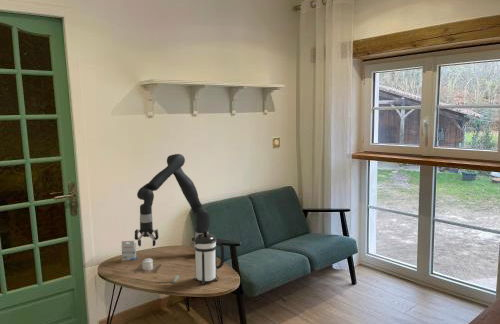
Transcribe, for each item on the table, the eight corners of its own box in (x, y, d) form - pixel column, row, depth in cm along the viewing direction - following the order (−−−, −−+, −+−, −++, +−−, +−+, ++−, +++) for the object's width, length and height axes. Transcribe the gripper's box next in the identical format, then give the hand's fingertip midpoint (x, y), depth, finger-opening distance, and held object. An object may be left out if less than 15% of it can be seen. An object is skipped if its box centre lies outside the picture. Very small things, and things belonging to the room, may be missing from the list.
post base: (161, 266, 241) (161, 258, 241) (156, 275, 227) (156, 266, 227) (140, 266, 241) (139, 258, 240) (133, 275, 227) (133, 266, 227)
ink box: (136, 259, 254) (135, 238, 252) (135, 262, 249) (134, 240, 247) (123, 259, 253) (122, 238, 252) (122, 262, 248) (121, 241, 247)
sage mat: (178, 275, 226) (178, 275, 226) (175, 283, 216) (175, 282, 216) (159, 276, 226) (159, 275, 226) (155, 283, 216) (155, 282, 216)
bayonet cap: (153, 266, 237) (153, 258, 236) (151, 270, 231) (151, 261, 230) (144, 266, 237) (144, 258, 236) (141, 270, 231) (141, 261, 230)
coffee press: (216, 286, 211) (215, 235, 208) (189, 284, 215) (188, 233, 211) (224, 274, 228) (223, 226, 225) (199, 272, 231) (198, 225, 228)
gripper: (159, 219, 235) (159, 244, 236) (136, 219, 235) (137, 244, 236) (156, 222, 227) (156, 248, 229) (132, 222, 227) (133, 248, 229)
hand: (146, 246), depth 233 cm, fingers open, 8 cm apart
